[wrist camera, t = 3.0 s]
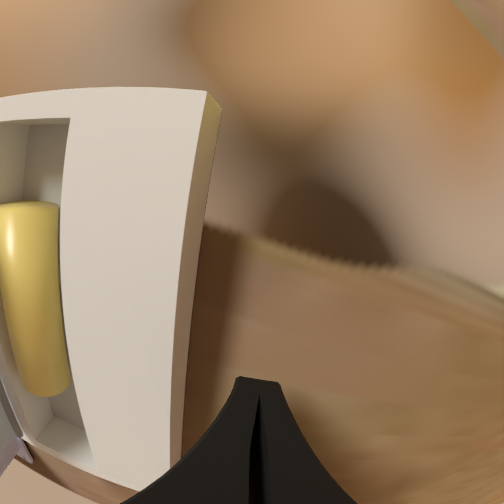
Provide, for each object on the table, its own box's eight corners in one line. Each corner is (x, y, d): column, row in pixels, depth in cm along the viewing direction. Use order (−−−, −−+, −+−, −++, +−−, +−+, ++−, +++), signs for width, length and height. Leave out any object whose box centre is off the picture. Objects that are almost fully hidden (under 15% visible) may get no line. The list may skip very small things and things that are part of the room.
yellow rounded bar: (11, 375, 12) (48, 354, 14) (42, 405, 11) (81, 378, 14) (-15, 205, 9) (37, 197, 12) (12, 217, 8) (71, 208, 11)
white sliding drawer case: (180, 465, 16) (170, 500, 13) (37, 411, 16) (18, 436, 13) (222, 109, 11) (207, 91, 8) (12, 107, 11) (-28, 103, 8)
